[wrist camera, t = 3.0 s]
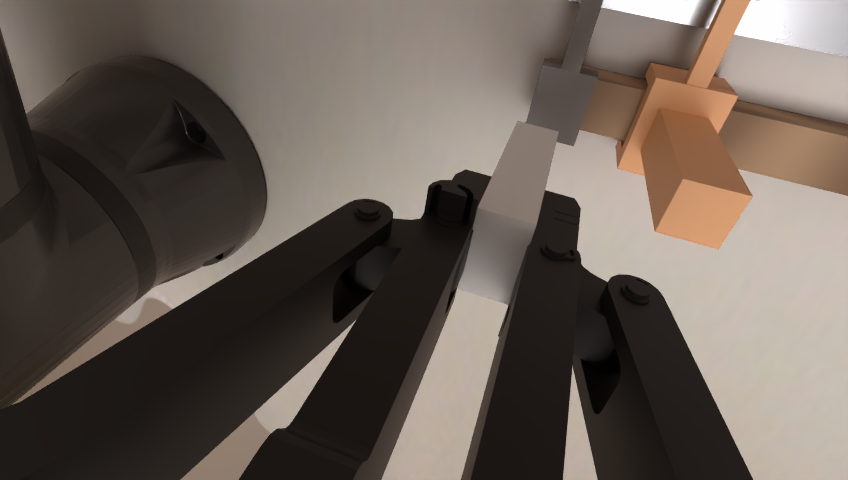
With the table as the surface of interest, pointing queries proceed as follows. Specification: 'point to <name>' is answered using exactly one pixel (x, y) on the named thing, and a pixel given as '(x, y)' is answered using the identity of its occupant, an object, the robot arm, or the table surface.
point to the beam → (741, 133)
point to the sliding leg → (689, 142)
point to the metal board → (759, 19)
